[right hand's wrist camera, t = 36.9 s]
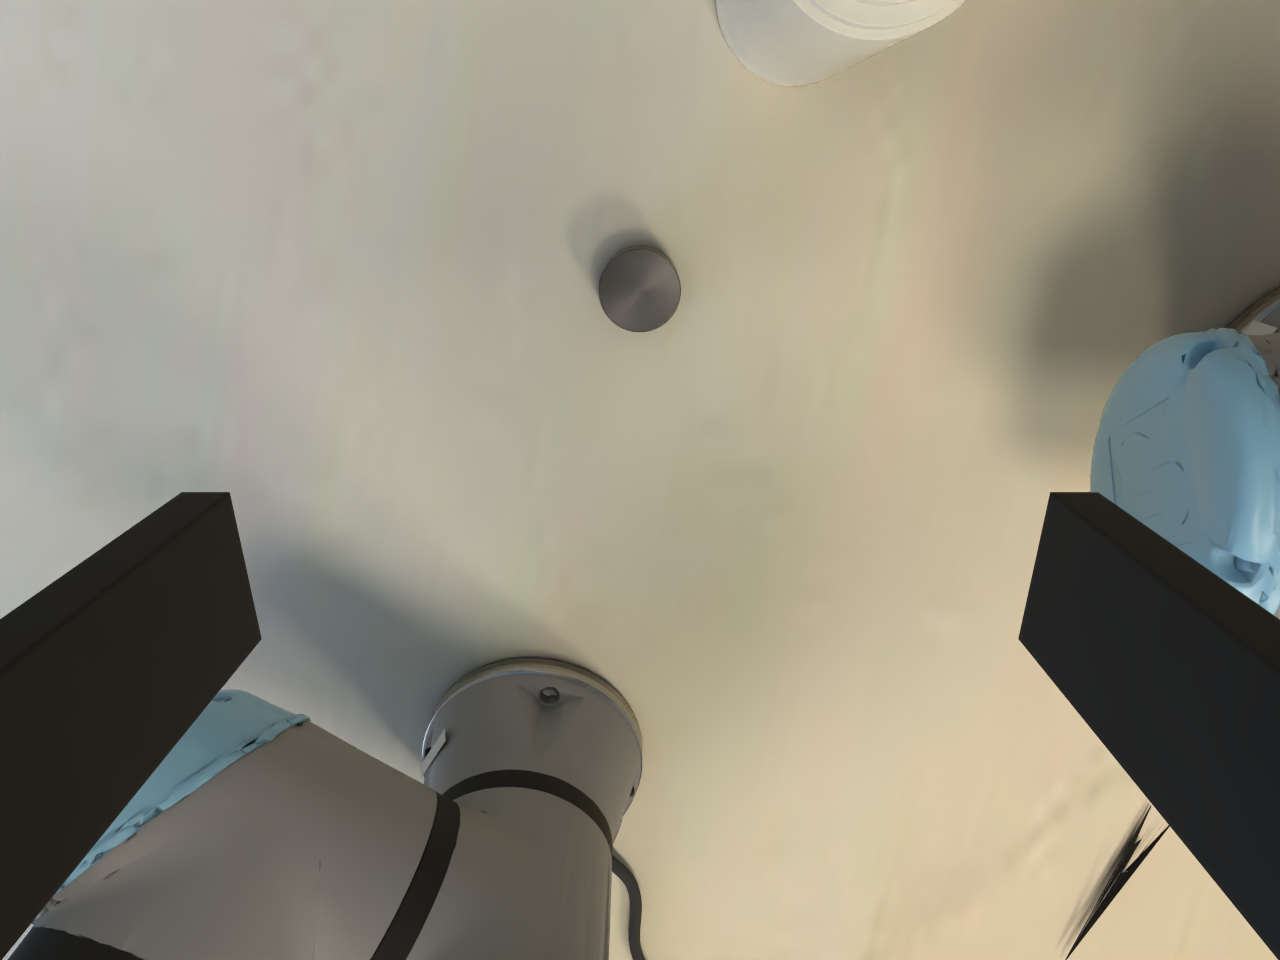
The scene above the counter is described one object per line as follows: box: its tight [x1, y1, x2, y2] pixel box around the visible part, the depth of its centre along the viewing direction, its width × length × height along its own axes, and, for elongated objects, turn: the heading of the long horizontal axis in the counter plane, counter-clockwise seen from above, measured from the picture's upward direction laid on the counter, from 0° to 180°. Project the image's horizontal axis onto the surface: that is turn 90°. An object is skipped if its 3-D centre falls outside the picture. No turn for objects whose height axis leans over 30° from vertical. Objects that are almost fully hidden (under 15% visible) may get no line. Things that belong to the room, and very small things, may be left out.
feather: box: [1065, 806, 1170, 960], centre depth 61 cm, size 2×28×2 cm
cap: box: [599, 246, 681, 332], centre depth 42 cm, size 4×4×2 cm
